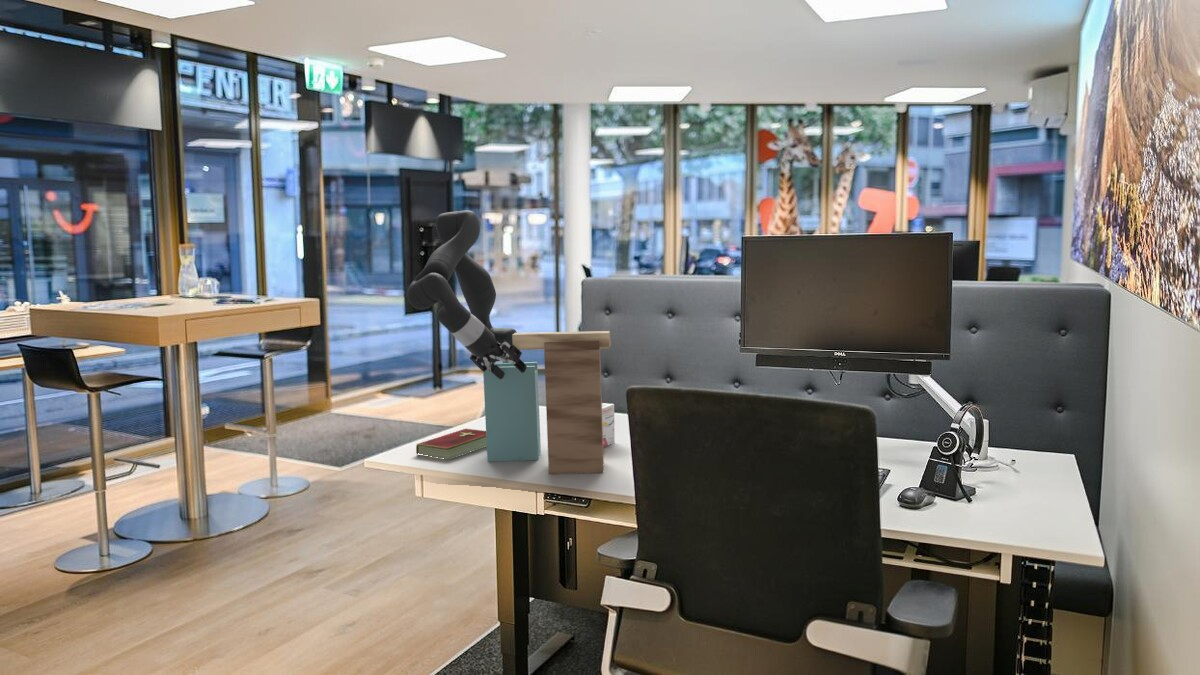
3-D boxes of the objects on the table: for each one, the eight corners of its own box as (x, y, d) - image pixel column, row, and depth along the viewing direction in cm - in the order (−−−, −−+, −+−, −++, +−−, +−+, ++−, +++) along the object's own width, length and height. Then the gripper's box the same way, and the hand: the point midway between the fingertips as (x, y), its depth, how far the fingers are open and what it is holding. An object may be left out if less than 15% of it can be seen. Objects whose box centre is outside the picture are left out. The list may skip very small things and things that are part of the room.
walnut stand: (551, 463, 232) (547, 338, 228) (603, 462, 232) (599, 337, 228) (548, 474, 222) (543, 343, 218) (603, 472, 222) (599, 342, 218)
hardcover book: (416, 457, 245) (415, 442, 245) (465, 440, 263) (464, 427, 262) (448, 462, 239) (447, 447, 238) (496, 445, 256) (495, 431, 256)
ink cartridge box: (600, 449, 246) (599, 398, 244) (586, 447, 248) (584, 397, 247) (615, 442, 253) (614, 393, 251) (601, 441, 256) (599, 392, 254)
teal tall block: (491, 453, 245) (487, 363, 241) (540, 452, 244) (537, 362, 241) (487, 461, 237) (483, 367, 233) (538, 460, 236) (534, 366, 233)
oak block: (515, 347, 227) (515, 332, 226) (610, 346, 224) (610, 331, 224) (512, 350, 223) (512, 334, 222) (609, 348, 220) (608, 332, 220)
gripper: (496, 316, 219) (537, 357, 226) (460, 330, 228) (500, 368, 235) (485, 338, 214) (527, 378, 222) (449, 351, 223) (490, 389, 231)
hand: (513, 373), depth 229 cm, fingers open, 8 cm apart
